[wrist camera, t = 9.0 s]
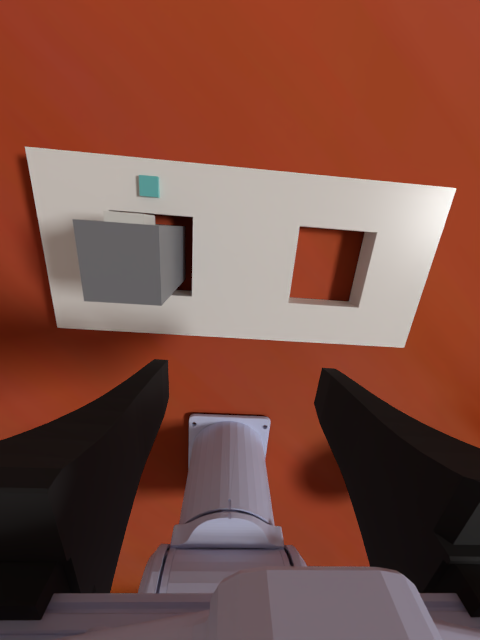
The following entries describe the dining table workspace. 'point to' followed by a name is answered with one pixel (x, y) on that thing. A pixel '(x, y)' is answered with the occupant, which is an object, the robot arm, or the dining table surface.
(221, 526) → the robot arm
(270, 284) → the panel
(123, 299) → the plug
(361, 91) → the dining table surface
